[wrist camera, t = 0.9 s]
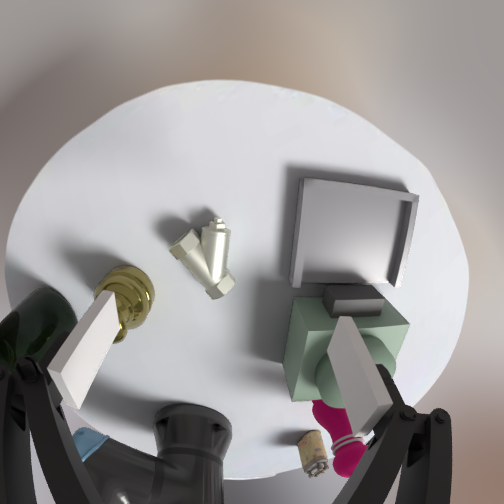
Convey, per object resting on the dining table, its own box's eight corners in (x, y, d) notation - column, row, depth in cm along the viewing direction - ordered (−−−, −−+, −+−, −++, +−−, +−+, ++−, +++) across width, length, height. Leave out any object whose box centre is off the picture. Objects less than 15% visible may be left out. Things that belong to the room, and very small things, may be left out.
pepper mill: (300, 387, 42) (329, 487, 24) (339, 369, 42) (382, 465, 23) (315, 406, 45) (343, 495, 26) (350, 390, 44) (388, 476, 25)
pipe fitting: (215, 208, 32) (172, 243, 33) (215, 213, 29) (167, 252, 29) (255, 258, 35) (213, 290, 35) (260, 269, 31) (213, 304, 32)
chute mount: (392, 280, 37) (400, 287, 35) (288, 279, 35) (292, 287, 33) (409, 192, 33) (419, 195, 30) (299, 176, 31) (304, 178, 29)
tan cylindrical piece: (307, 446, 50) (316, 480, 41) (293, 445, 49) (300, 481, 40) (323, 429, 48) (334, 466, 39) (307, 429, 47) (318, 467, 38)
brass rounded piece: (103, 261, 33) (67, 295, 23) (155, 267, 34) (130, 306, 24) (108, 309, 35) (80, 351, 26) (156, 316, 36) (137, 363, 27)
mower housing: (363, 358, 41) (389, 403, 31) (282, 364, 40) (295, 418, 30) (387, 280, 37) (428, 319, 26) (296, 279, 35) (320, 327, 25)
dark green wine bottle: (24, 287, 33) (-96, 415, 2) (67, 283, 33) (-69, 452, 2) (46, 339, 37) (-40, 477, 5) (89, 342, 37) (5, 514, 6)
